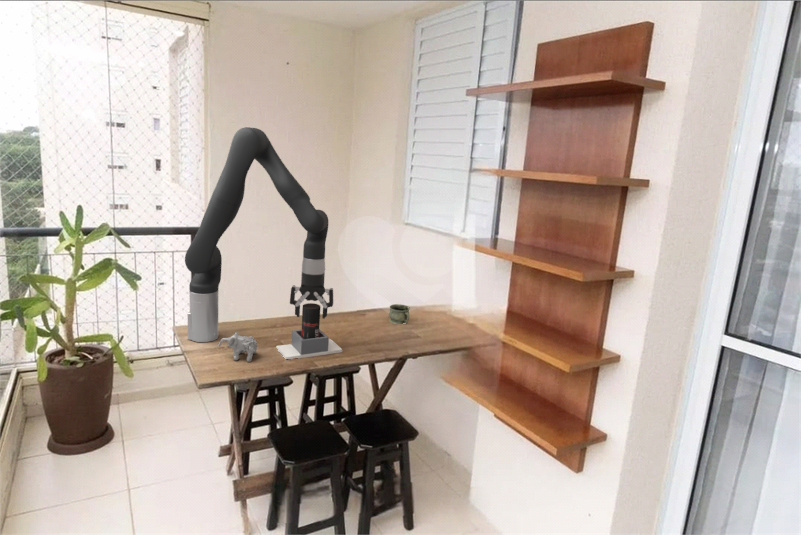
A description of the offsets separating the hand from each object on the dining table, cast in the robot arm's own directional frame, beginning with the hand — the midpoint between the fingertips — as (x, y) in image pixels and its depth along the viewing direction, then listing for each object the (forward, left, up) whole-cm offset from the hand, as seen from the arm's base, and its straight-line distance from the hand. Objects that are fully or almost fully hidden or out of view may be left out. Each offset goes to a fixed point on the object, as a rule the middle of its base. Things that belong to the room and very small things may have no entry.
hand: (311, 317), depth 170 cm
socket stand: (0, 0, -12) cm, 12 cm away
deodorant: (0, 0, -11) cm, 11 cm away
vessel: (+33, +35, -12) cm, 50 cm away
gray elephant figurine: (-22, -9, -12) cm, 27 cm away
